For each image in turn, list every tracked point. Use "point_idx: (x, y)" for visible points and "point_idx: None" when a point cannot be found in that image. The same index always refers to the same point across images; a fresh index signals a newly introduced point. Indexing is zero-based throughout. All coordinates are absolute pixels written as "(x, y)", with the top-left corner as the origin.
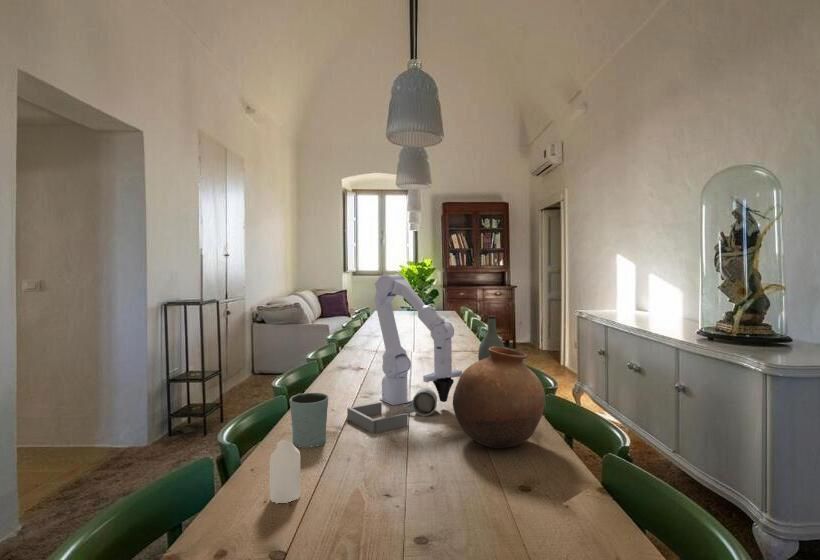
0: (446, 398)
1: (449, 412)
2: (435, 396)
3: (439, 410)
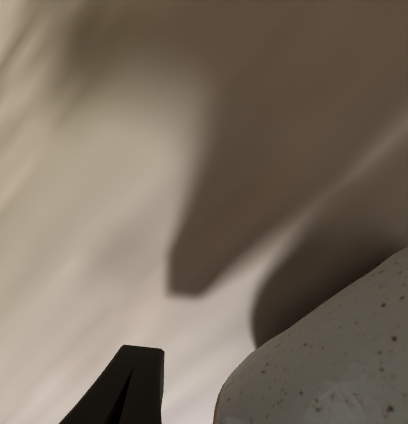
0: (121, 366)
1: (193, 214)
2: (358, 416)
3: (220, 303)
